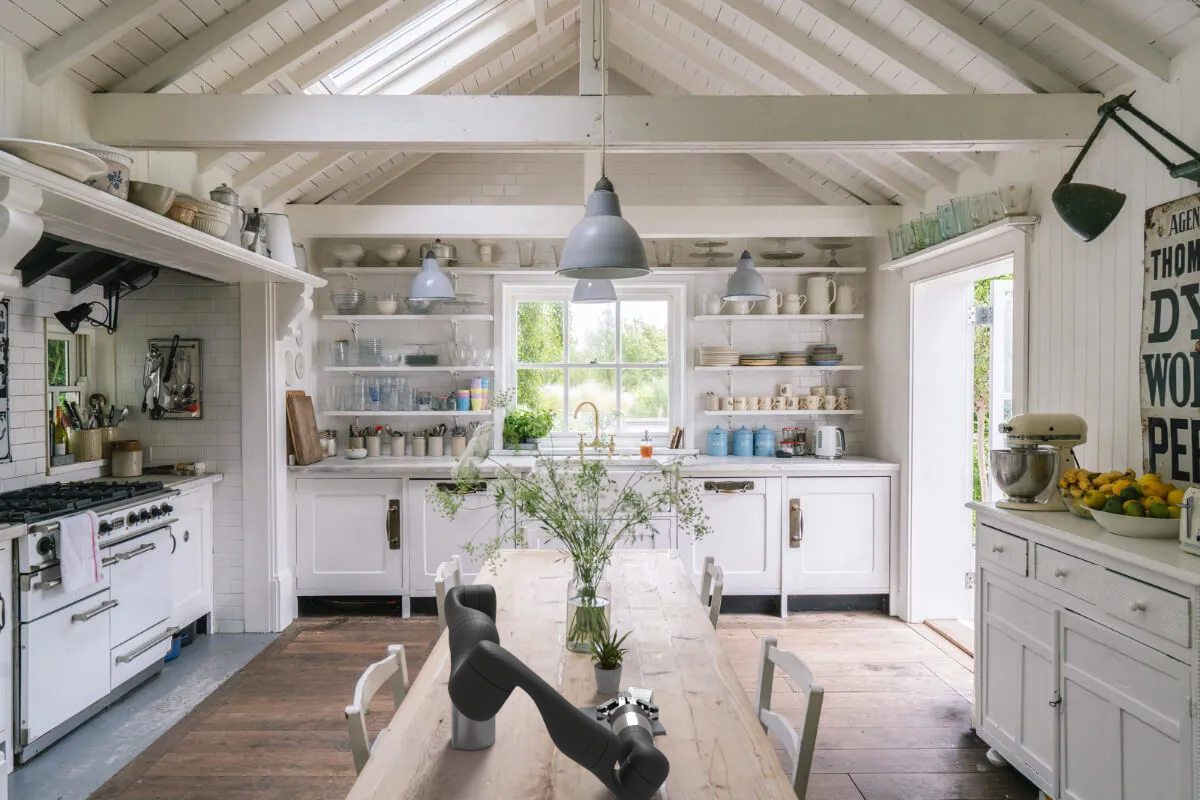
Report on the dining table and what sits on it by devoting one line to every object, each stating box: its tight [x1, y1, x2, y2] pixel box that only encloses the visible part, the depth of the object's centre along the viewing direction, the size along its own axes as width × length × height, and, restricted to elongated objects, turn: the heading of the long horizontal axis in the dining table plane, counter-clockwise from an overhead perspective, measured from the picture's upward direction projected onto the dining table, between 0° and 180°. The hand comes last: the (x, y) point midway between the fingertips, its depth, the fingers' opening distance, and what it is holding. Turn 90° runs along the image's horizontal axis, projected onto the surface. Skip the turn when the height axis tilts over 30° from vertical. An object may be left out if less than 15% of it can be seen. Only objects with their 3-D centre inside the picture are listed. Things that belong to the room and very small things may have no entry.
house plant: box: [580, 625, 635, 695], centre depth 198 cm, size 14×14×16 cm
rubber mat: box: [576, 705, 667, 736], centre depth 180 cm, size 20×16×1 cm
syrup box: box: [627, 686, 655, 723], centre depth 177 cm, size 6×6×14 cm
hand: (624, 695), depth 168 cm, fingers closed
